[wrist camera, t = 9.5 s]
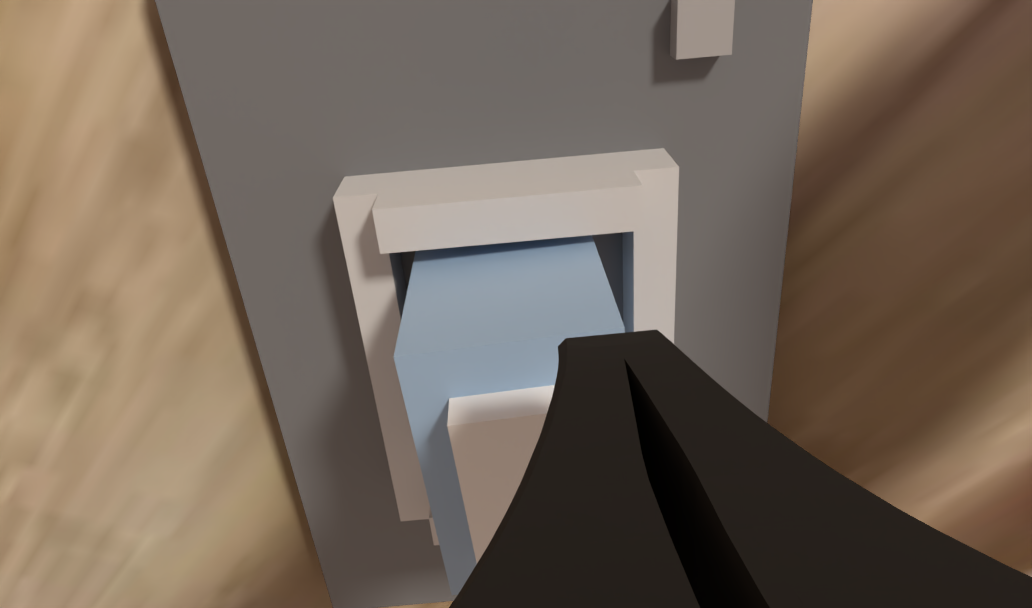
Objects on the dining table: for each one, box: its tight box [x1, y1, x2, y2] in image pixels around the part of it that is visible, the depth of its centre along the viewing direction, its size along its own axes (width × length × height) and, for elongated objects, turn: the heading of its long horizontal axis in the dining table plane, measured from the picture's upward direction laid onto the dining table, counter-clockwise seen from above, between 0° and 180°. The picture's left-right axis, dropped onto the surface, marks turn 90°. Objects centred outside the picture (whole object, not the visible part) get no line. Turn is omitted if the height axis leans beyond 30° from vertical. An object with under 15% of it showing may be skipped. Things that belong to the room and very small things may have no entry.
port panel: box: [155, 0, 813, 608], centre depth 19 cm, size 14×20×4 cm
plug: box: [394, 235, 625, 595], centre depth 16 cm, size 4×6×7 cm, turn 7°
